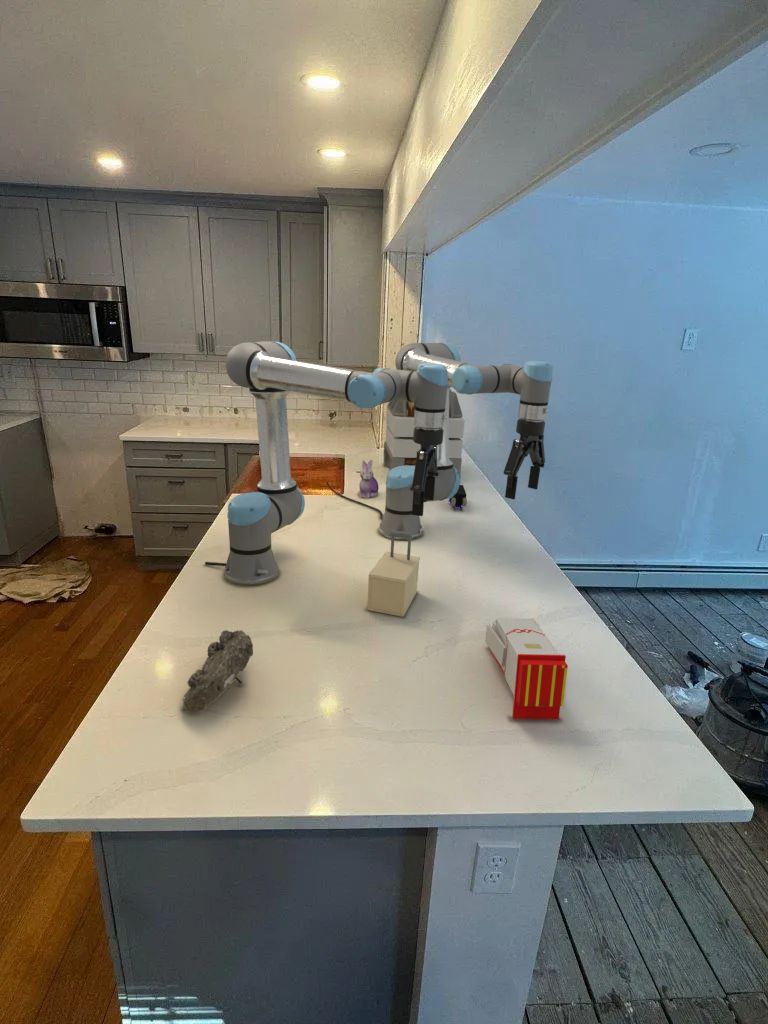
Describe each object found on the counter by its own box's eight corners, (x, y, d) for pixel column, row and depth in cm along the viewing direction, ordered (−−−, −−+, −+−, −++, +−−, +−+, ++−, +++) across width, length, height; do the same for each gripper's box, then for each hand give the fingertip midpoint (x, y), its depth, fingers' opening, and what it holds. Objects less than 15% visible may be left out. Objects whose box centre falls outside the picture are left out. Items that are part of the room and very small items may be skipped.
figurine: (363, 499, 233) (364, 464, 228) (353, 492, 242) (354, 458, 236) (383, 497, 237) (385, 462, 232) (373, 490, 246) (374, 456, 241)
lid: (385, 554, 159) (387, 525, 156) (419, 560, 157) (421, 530, 154) (368, 577, 146) (369, 545, 143) (405, 583, 143) (407, 551, 140)
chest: (383, 586, 162) (385, 555, 159) (416, 592, 159) (419, 561, 156) (367, 610, 149) (368, 577, 146) (403, 616, 146) (405, 583, 143)
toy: (531, 603, 136) (576, 661, 106) (526, 655, 139) (569, 725, 109) (481, 602, 135) (512, 660, 106) (477, 654, 138) (507, 724, 109)
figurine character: (467, 515, 225) (461, 499, 238) (469, 498, 221) (463, 482, 235) (450, 514, 224) (445, 498, 238) (452, 497, 221) (447, 482, 234)
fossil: (205, 632, 127) (252, 602, 122) (234, 661, 130) (282, 632, 125) (161, 704, 108) (216, 672, 103) (197, 736, 111) (252, 705, 106)
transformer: (382, 463, 289) (386, 382, 275) (445, 464, 293) (451, 384, 279) (390, 482, 257) (394, 392, 243) (460, 483, 261) (468, 394, 247)
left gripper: (433, 438, 130) (427, 524, 138) (452, 420, 153) (445, 495, 160) (402, 435, 132) (397, 520, 139) (424, 417, 155) (419, 491, 162)
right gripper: (522, 427, 144) (512, 506, 151) (563, 416, 162) (552, 487, 169) (496, 422, 149) (487, 499, 156) (539, 412, 167) (529, 481, 174)
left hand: (423, 507), depth 150 cm, fingers open, 13 cm apart
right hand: (521, 493), depth 163 cm, fingers open, 13 cm apart
